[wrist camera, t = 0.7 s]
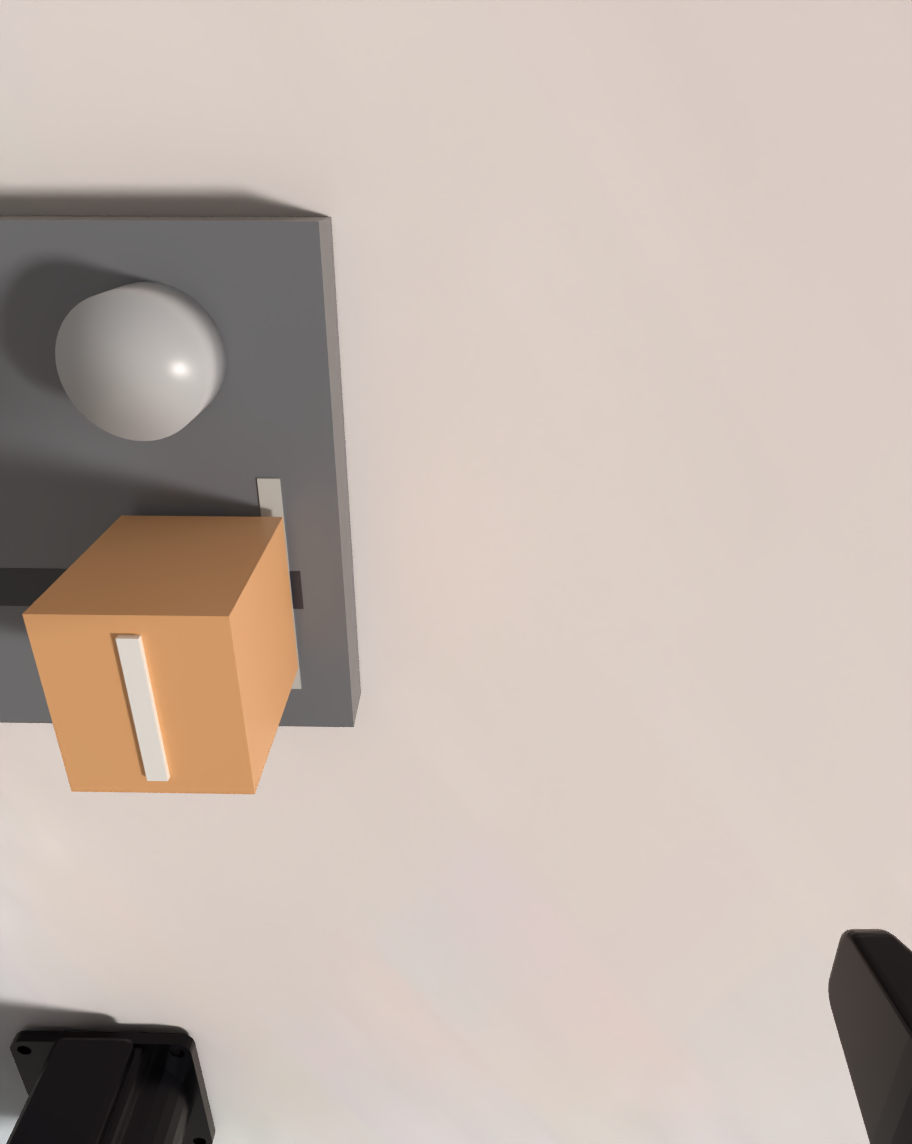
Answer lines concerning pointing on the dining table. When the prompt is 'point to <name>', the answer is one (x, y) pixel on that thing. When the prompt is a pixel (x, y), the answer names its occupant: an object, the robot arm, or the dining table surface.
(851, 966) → the robot arm
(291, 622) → the orange cube
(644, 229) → the dining table surface
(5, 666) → the board
